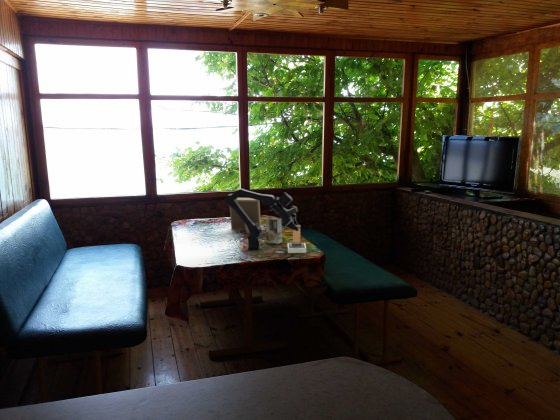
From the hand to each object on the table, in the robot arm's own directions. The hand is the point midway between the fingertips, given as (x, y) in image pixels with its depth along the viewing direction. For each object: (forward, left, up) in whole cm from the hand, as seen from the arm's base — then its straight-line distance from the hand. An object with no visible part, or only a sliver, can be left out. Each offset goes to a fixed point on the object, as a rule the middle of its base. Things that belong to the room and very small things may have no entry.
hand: (298, 229), depth 258 cm
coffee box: (-15, +20, -13) cm, 29 cm away
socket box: (-1, 0, -13) cm, 13 cm away
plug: (-1, 0, -8) cm, 8 cm away
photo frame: (-37, +53, -13) cm, 66 cm away
